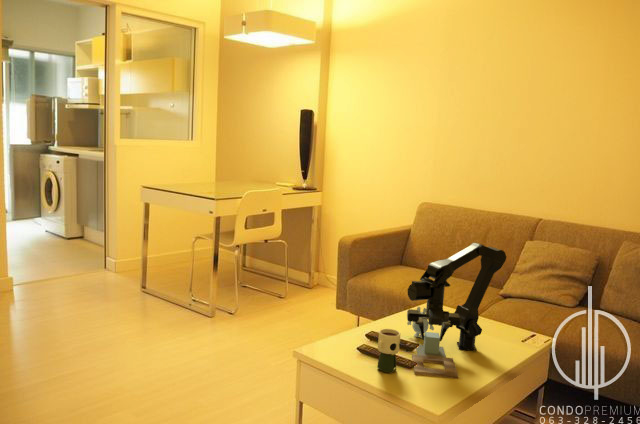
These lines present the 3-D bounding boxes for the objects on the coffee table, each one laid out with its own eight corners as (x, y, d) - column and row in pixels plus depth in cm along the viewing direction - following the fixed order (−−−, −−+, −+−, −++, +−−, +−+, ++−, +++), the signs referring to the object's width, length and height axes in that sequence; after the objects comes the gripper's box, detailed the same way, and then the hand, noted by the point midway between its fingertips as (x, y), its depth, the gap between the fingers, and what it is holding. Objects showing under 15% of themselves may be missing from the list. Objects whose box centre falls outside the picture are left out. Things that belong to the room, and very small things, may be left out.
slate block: (424, 352, 194) (425, 336, 193) (423, 347, 199) (424, 331, 198) (438, 354, 193) (440, 338, 192) (437, 348, 198) (438, 333, 197)
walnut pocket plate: (411, 356, 191) (412, 354, 191) (452, 360, 189) (452, 358, 189) (414, 373, 177) (414, 371, 177) (457, 378, 176) (458, 375, 176)
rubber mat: (415, 345, 201) (415, 344, 201) (442, 348, 200) (443, 346, 200) (417, 356, 192) (417, 354, 192) (446, 359, 191) (446, 357, 191)
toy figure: (403, 336, 210) (406, 306, 208) (408, 331, 215) (411, 302, 213) (430, 342, 205) (433, 312, 203) (434, 337, 211) (437, 308, 209)
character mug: (386, 378, 173) (389, 339, 171) (368, 371, 177) (371, 333, 175) (404, 368, 181) (407, 331, 179) (386, 361, 185) (389, 325, 183)
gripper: (410, 303, 186) (406, 346, 188) (465, 307, 184) (461, 351, 187) (408, 293, 197) (405, 334, 199) (460, 298, 195) (456, 339, 197)
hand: (431, 340), depth 195 cm, fingers open, 6 cm apart
